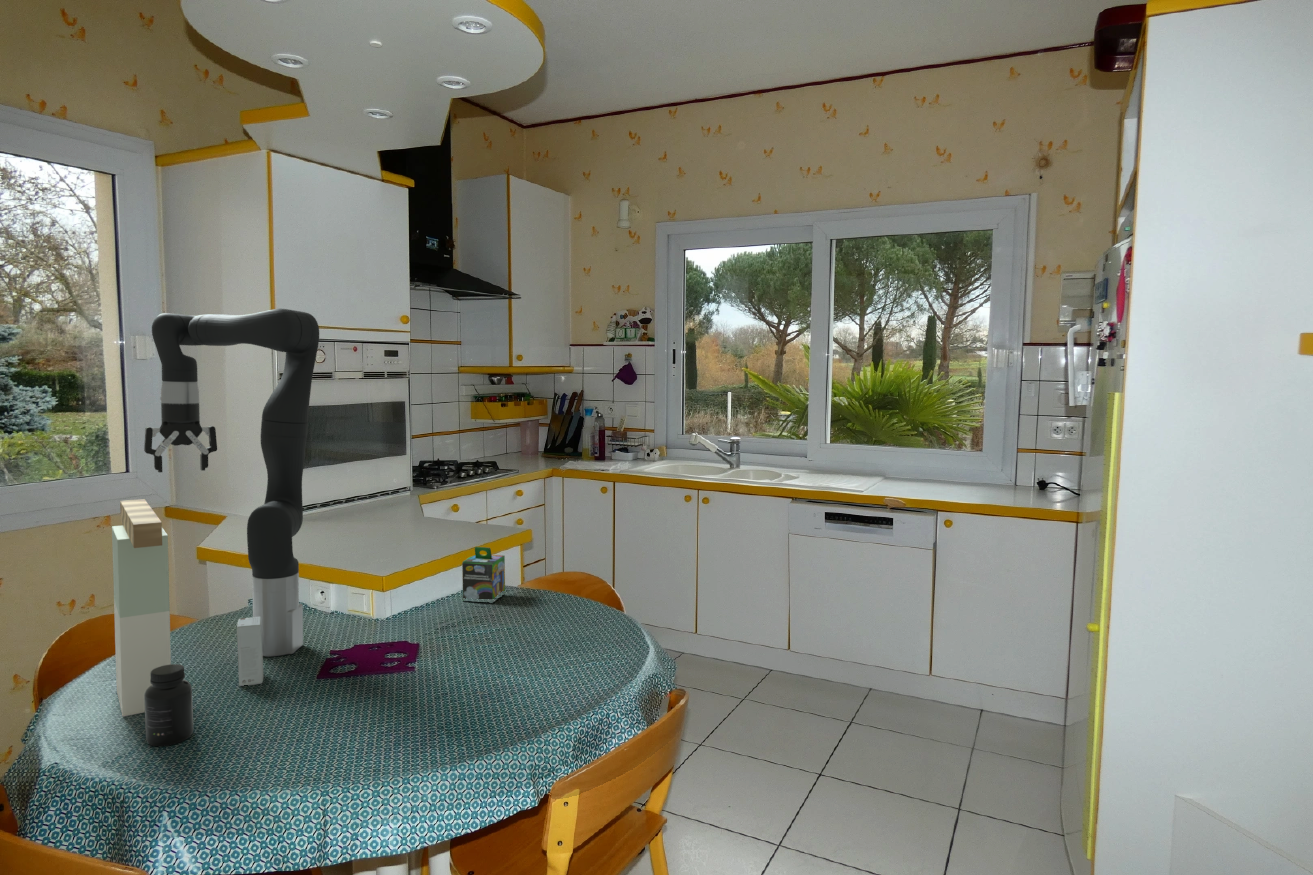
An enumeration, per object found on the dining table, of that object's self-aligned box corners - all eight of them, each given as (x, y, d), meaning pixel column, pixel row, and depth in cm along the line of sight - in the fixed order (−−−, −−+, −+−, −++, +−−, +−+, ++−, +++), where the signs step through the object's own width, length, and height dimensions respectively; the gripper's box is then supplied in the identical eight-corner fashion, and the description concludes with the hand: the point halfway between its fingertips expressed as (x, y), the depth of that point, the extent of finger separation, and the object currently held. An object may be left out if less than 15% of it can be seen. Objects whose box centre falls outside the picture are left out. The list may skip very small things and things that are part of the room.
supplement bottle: (159, 728, 134) (158, 661, 133) (201, 728, 134) (199, 661, 133) (136, 747, 127) (134, 676, 126) (180, 747, 127) (178, 676, 126)
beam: (120, 520, 151) (120, 500, 151) (145, 519, 154) (144, 499, 153) (134, 548, 129) (133, 524, 129) (162, 545, 132) (161, 522, 132)
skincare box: (263, 683, 154) (262, 624, 153) (237, 687, 152) (236, 626, 151) (263, 672, 159) (262, 615, 158) (238, 675, 157) (237, 617, 156)
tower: (116, 690, 149) (111, 526, 146) (162, 681, 153) (158, 522, 151) (122, 716, 138) (117, 539, 135) (171, 706, 142) (167, 535, 140)
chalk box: (505, 595, 219) (506, 543, 218) (492, 604, 210) (493, 550, 209) (475, 592, 221) (475, 541, 220) (461, 601, 212) (461, 548, 211)
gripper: (145, 402, 171) (147, 474, 172) (218, 402, 180) (219, 471, 181) (141, 400, 177) (143, 471, 178) (212, 400, 186) (214, 467, 187)
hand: (181, 471), depth 180 cm, fingers open, 8 cm apart
